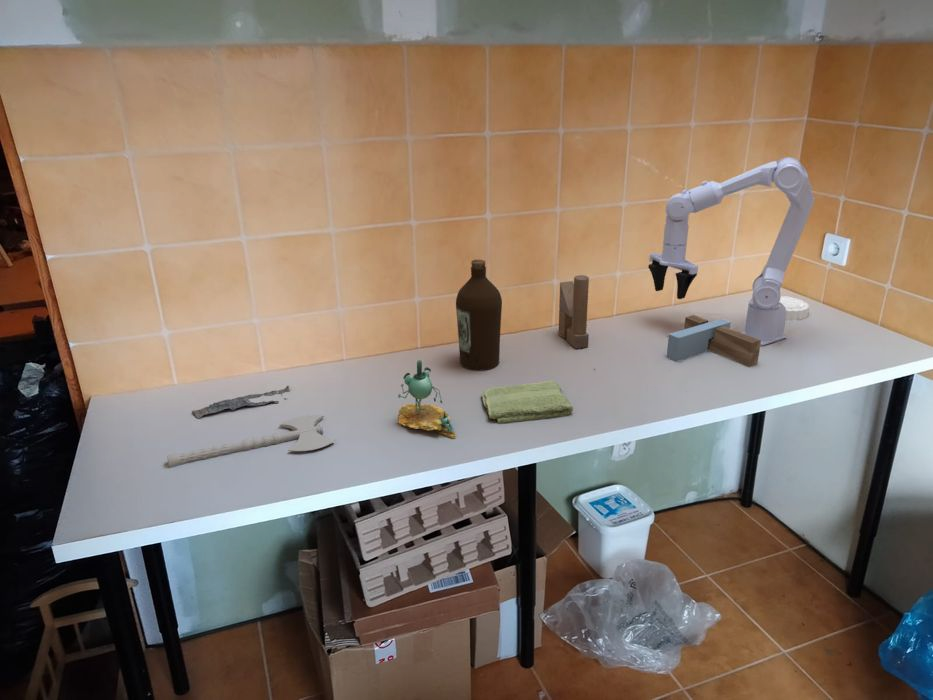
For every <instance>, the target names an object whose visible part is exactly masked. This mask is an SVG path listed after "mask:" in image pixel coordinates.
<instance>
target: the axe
mask: <svg viewBox="0 0 933 700" xmlns="http://www.w3.org/2000/svg"><path fill="white" fill-rule="evenodd" d="M324 417H325V415H319V414H311V415H309V414H308V415H302V416H297V417H293V418H290V419H288V420H286V421H283V422H282V423H280V424H279V425H278V426H279V427H282V428H288V429H290V430H291V431H286V432H281V433H278V432H277V433H273V434H272V435H263V436H262V437H253V438H252V439H244V440H242V441H239V442H238V441H237V442H234V443H229V444H222V445H220V446H212V447H209V448H201V449H200V450H192V451H190V452H183V453H180V454H179V453H173V454H168V455H167V456H166V457H167V464H168V467H169V468H173V467H177V466H180V465H183V464H187V463H191V462H196V461H199V460H206V459H209V458H216V457H219V456H225V455H229V454H232V453H237V452H243V451H250V450H251V449H252V450H253V449H258V448H259V449H260V448H261V447H269V446H271V445H278V444H280V443H284V442H289V441H293V440H297V441H296V442H295V443H294V444H293V445H292V446H291V447H290V448H288V450H287V451H290V452H308V451H314V450H318V449H321V448H323V447H327V446H329V445H331V444H333V443H334V442H336V441H337V439H336V438H332V437H328V436H324V435H323V433H324V429H323V426H322V424H318V423H319V422H320V421H322V419H323V418H324Z"/></svg>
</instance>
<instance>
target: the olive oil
mask: <svg viewBox="0 0 933 700" xmlns="http://www.w3.org/2000/svg"><path fill="white" fill-rule="evenodd" d="M470 263H471V264H470V265H471V267H470V274H471V275H470V278H469V279H468V280H467V281H466V282H465V283H464V285H462V286H461V288H460V289H459V290H458V292H457V295H456V299H455V311H456V322H457V323H456V325H457V335H458V350H459V353H458V354H459V364H460V365H461V366H462V367H463V368H464V369H468V370H472V371H487V370H491V369H494V368H496V367H497V366H498V365H499V364H500V355H501V354H500V353H501V352H500V349H501V347H500V346H501V326H502V325H501V324H502V322H501V321H502V310H503V307H502V306H503V300H502V296H501V293H500V291H499V289H498V288H497V287H496V286H495V285H494V284H493V282H492V281H491V280H489V279H488V278H487V275H486V274H487V267H486V260H483V259H473V260H471V262H470Z"/></svg>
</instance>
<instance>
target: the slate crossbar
mask: <svg viewBox="0 0 933 700" xmlns="http://www.w3.org/2000/svg"><path fill="white" fill-rule="evenodd" d="M722 326H724V327H727V328H730V329H731V322H730V321H727V320H725V319H722V318H718V319H715V320H712V321H708V323H705V324H701V325H698V326H694V327H691V328H688V329H684V328H683V329H682V330H678V331H674V332H671V333H669V334H668V339H667V340H668V341H667V346H666V347H667V349H666V358H667V359H669V360H672V361H675V362H680V361H682V360H685V359H688V358H692V357H694V356H697V355H700V354H703V353H706V352H708V350H707V348H708V341H709V339H711V338H714V333H715V329H716V328H719V327H722Z"/></svg>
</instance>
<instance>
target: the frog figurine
mask: <svg viewBox="0 0 933 700" xmlns="http://www.w3.org/2000/svg"><path fill="white" fill-rule="evenodd" d="M422 366H423V361H422V359H418V360H417V362H416V373H414V374H413V376H411V373H410V372H406V373H405V374H404V376H403V380H404V383H401V384H400V387H401V389H402V395H403V394H406V395H405V396H402V395H401V393H398V395H397V397H398V398H403V399H406V398H407V397H408V395H409V394H410V396H412V397H413V398H414V399H415V404H414V403H408V404H406V405H402V406H401V408H400V409H399V410H398V418H397V420H398V424H399V425H402V426H404V427H409V428H410V429H414V430H418V429H419V430H420V429H422V430H423V431H434V430H437V431H438V435H439V434H441V435H444V436H445V437H448V438H452V439H455V438H456V437H457V434H456V432H454V430H455V429H454V428H453V426H452V425H453V424H452V423H451V420H452V419H451V418H450V416H449V414H448V413H447V411H445V410H443V409H442V408H441V407H439V406H435V405H434V404H424V403H423V404H422V403H421V402H422V400H424V399H427V398H428V397H430V395H431V394H432V391H433V390H434V392H435V393H436V395H435V397H433V401H434V402H435V403H436V402H437V397H438V396H439V398H440V400H439V401H440V404H443V401H442V397H441V392H440V389H438V388H436V387H435V386H433V382H432V381H431V379H430V372H432V370H431V368H429V367H424V371H423V367H422ZM404 385H406V386H407V387H408V390H406V391H404ZM438 394H439V395H438ZM443 426H444V428H443Z"/></svg>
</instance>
